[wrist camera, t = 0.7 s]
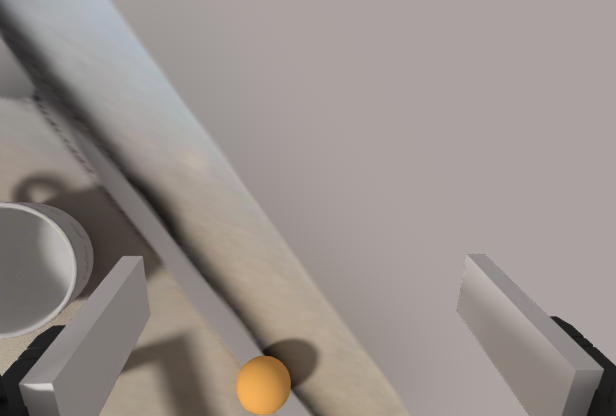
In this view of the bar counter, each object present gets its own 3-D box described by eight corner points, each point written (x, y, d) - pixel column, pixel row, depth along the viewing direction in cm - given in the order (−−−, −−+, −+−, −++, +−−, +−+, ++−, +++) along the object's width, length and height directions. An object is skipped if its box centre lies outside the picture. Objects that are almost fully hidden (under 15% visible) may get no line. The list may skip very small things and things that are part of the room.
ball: (291, 387, 44) (302, 412, 39) (243, 407, 43) (247, 435, 38) (277, 340, 44) (286, 359, 39) (228, 359, 43) (230, 381, 37)
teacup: (126, 267, 40) (105, 281, 33) (28, 337, 38) (-19, 370, 31) (33, 153, 39) (-13, 139, 31) (-74, 221, 37) (-153, 225, 29)
